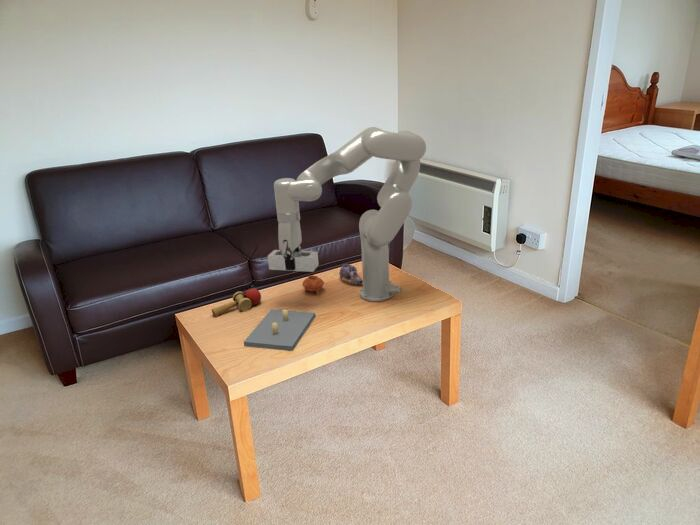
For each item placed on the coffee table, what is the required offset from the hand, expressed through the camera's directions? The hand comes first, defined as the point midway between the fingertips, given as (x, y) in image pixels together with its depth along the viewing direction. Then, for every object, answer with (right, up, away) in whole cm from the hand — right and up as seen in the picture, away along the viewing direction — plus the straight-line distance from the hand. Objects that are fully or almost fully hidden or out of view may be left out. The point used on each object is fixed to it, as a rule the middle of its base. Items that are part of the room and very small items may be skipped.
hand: (293, 265), depth 179 cm
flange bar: (0, -1, 0) cm, 1 cm away
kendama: (-21, -16, +6) cm, 27 cm away
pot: (+6, -10, +16) cm, 20 cm away
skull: (+20, -7, +23) cm, 31 cm away
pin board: (-3, -21, -10) cm, 24 cm away
